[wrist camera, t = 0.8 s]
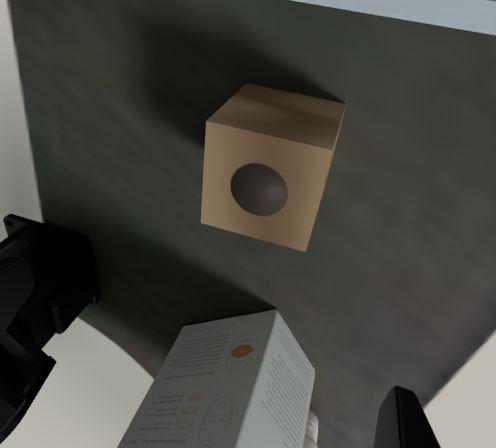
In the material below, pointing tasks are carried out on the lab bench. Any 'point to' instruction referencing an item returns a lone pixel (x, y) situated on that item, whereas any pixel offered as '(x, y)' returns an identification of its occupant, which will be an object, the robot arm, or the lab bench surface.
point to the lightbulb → (311, 431)
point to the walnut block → (268, 163)
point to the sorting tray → (427, 11)
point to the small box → (228, 388)
